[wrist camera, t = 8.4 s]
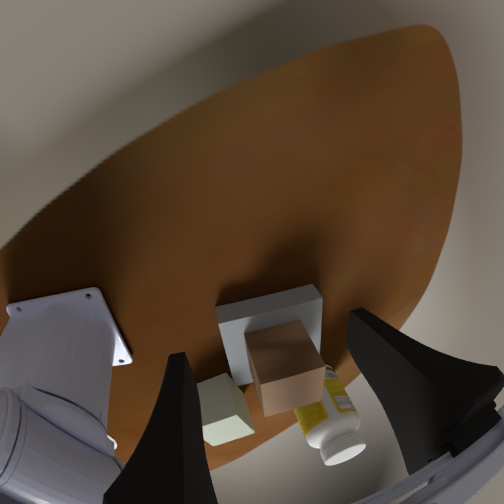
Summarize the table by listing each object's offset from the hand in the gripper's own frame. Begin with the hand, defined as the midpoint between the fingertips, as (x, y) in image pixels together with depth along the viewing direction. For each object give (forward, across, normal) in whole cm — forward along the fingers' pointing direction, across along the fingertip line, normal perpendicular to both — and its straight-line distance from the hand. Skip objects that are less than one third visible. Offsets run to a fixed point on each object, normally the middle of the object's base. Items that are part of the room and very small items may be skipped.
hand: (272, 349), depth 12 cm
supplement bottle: (+10, -6, +18) cm, 21 cm away
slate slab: (+10, -2, +9) cm, 14 cm away
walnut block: (+8, -2, +9) cm, 12 cm away
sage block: (+10, +4, +16) cm, 19 cm away
